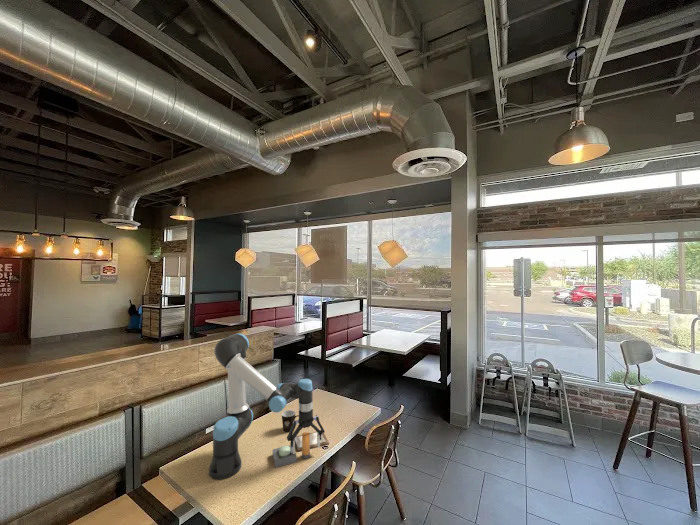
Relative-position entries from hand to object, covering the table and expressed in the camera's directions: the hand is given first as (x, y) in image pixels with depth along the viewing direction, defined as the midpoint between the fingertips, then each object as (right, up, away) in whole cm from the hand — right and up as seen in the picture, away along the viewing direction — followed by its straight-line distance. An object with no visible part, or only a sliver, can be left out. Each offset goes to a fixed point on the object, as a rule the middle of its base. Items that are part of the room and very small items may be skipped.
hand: (306, 449), depth 155 cm
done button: (-11, -2, -1) cm, 12 cm away
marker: (0, -4, 0) cm, 4 cm away
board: (+1, -4, +14) cm, 15 cm away
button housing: (-11, -4, -1) cm, 12 cm away
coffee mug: (-14, -5, +27) cm, 31 cm away
